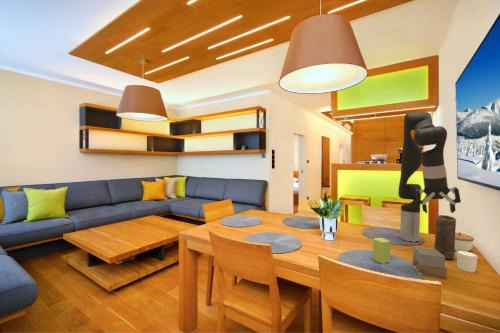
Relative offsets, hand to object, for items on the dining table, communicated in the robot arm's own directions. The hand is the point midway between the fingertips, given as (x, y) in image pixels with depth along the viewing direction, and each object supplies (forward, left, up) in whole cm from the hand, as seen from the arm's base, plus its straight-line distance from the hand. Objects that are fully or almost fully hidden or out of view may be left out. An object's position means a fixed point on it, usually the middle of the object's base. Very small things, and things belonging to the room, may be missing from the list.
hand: (438, 212), depth 95 cm
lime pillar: (-2, -21, -25) cm, 33 cm away
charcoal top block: (+2, -4, -21) cm, 22 cm away
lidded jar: (-32, +19, -26) cm, 45 cm away
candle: (-18, +8, -26) cm, 32 cm away
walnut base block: (+2, -4, -26) cm, 26 cm away
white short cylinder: (-7, +12, -26) cm, 29 cm away
